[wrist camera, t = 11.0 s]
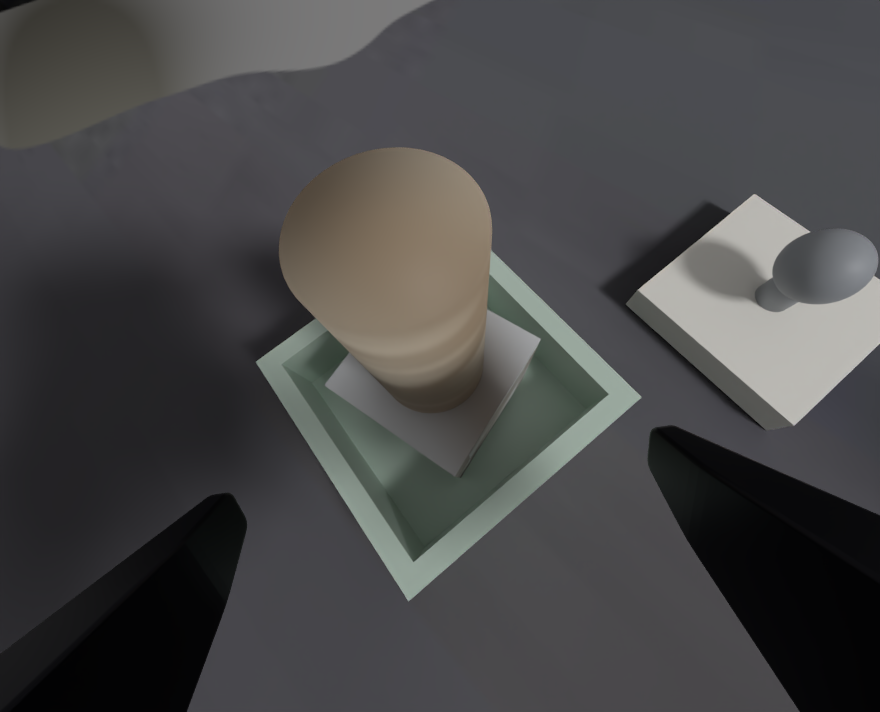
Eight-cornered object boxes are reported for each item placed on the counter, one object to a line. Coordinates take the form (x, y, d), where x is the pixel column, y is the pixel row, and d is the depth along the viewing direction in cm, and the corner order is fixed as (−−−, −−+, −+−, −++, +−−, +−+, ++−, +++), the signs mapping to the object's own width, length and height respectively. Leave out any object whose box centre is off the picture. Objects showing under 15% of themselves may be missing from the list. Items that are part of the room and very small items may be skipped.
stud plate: (766, 430, 16) (899, 407, 11) (625, 304, 19) (681, 238, 14) (882, 320, 17) (1052, 253, 12) (734, 214, 20) (824, 121, 15)
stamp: (461, 477, 16) (424, 470, 5) (366, 411, 17) (159, 280, 6) (522, 378, 17) (614, 179, 6) (429, 323, 18) (355, 73, 7)
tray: (424, 573, 16) (408, 601, 12) (297, 384, 19) (255, 361, 15) (606, 414, 17) (641, 397, 13) (459, 263, 20) (456, 216, 17)
